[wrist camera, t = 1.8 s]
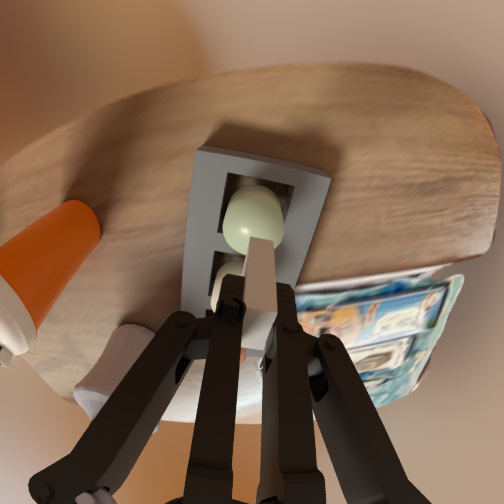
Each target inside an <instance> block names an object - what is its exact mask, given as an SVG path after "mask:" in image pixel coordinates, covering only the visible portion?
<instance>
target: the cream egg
mask: <svg viewBox="0 0 504 504" xmlns="http://www.w3.org/2000/svg"><path fill="white" fill-rule="evenodd" d="M244 262H245V261H231V262H228V263H226V264H224V265H223V266H221V267H220V269H219V270H218V272H217V275H216V279H215V284H214V288H213V293H212V297H211V308H212V310H213V312H215V310H216V303H217V301H218V298H219V293H220V288H221V283H222V278H223V277H224V276H225V275H226V274H227V273H228V274H233V275H238V276H242V270H243V266H244Z"/></svg>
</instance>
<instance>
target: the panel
mask: <svg viewBox="0 0 504 504" xmlns="http://www.w3.org/2000/svg"><path fill="white" fill-rule="evenodd" d="M229 173H234V174H240V175H245V176H250V177H255V178H260V179H265V180H269V181H274V182H279V183H283V184H288V185H289V188H288V191H287V195H286V199H285V203H284V206H283V210H282V215H283V220H284V226H285V231H284V236H283V239H282V241H281V242H280V244H279V245H278V246H277V247H276V248H275V249H274V259H275V275H276V282H280V283H285V284H290V286H291V287H292V289H293V290H294V288H295V285H296V282H297V279H298V277H299V274H300V271H301V268H302V266H303V263H304V260H305V257H306V254H307V252H308V249H309V246H310V243H311V240H312V237H313V234H314V231H315V228H316V225H317V222H318V219H319V216H320V213H321V210H322V207H323V204H324V201H325V198H326V195H327V191H328V188H329V185H330V182H331V178H330V176H329V175H328V174H327V173H326V172H325V171H324V170H321V169H317V168H313V167H309V166H306V165H302V164H297V163H293V162H289V161H285V160H280V159H276V158H271V157H267V156H262V155H257V154H252V153H247V152H242V151H237V150H231V149H225V148H219V147H213V146H207V145H202V146H201V147H199V148H198V149H197V150H196V154H195V161H194V168H193V175H192V182H191V190H190V199H189V207H188V217H187V226H186V237H185V248H184V260H183V274H182V291H181V311H187V312H190V313H192V314H193V315H194V316H195V317H196V318H205V317H206V315H207V309H210V310H212V308H211V297H212V293H213V288H214V284H215V280H212V273H213V266H214V259H215V253H216V251H220V252H225V253H230V254H236V255H241V256H246V255H244V254H241V253H239V252H237V251H235V250H234V249H233V248H232V247H231V246H230V245H229V244H228V243H227V241H226V239H225V237H224V234H223V222H224V220H221V216H222V210H223V204H224V199H225V193H226V187H227V182H228V176H229ZM265 352H266V345H265V347H264V350H257V349H250V348H246V355H248V356H255V357H264V354H265Z"/></svg>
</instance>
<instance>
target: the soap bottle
mask: <svg viewBox="0 0 504 504" xmlns="http://www.w3.org/2000/svg"><path fill="white" fill-rule="evenodd" d="M154 336H155V333H154V332H153V331H151V330H149V329H147V328H145V327H143V326H139V325H136V324H125V325H122V326H120V327H118V328H116V329H115V330H114V331H113V333H112V335H111V337H110V339H109V341H108V343H107V345H106V347H105V349H104V351H103V354H102V355H101V357H100V358H99V360H98V361H97V363H96V364H95V365H94V367H93V368H92V369H91V371H90V372H89V373H88V374H87V375H86V376H85V377H84V378H83V380H82V381H81V382H79V383H78V384H77V385H76V386H75V388H74V391H73V396H74V397H75V399H76V401H77V402H78V404H79V405H80V406H82V408H83V409H84V410H85V412H86V413H87V414H88V416H89V418H90V420H91V422H92V421H93V419H94V418H95V417H96V415H97V414H98V412H99V411H100V410H101V408H102V407H103V405H104V404H105V402H106V401H107V400H108V398H109V397H110V395H111V394H112V393H113V391H114V390H115V389H116V387H117V386H118V384H119V383H120V382H121V380H122V379H123V378H124V376H125V375H126V373H127V372H128V371H129V369H130V368H131V367H132V365H133V364H134V363H135V361H136V360H137V358H138V357H139V356H140V354H141V353H142V352H143V350H144V349H145V348H146V346H147V345H148V344H149V342H150V341H151V340H152V338H153V337H154ZM91 422H90V424H91ZM90 424H89V425H90ZM159 429H160V421H159V423H158V424H157V426H156V428H155V430H154V431H153V433H154V432H156V431H158V430H159Z"/></svg>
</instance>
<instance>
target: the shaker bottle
mask: <svg viewBox="0 0 504 504" xmlns="http://www.w3.org/2000/svg"><path fill="white" fill-rule="evenodd" d="M99 239H100V225H99V222H98V219H97V217H96V215H95V213H94V212H93V211H92V209H91V208H90V207H89V206H87V205H86V204H85V203H83V202H81V201H78V200H69V201H67V202H65V203H63V204H62V205H60V206H58V207H57V208H55V209H54V210H52V211H51V212H49V213H48V214H46V215H45V216H43V217H42V218H40V219H39V220H37V221H36V222H34V223H33V224H31V225H30V226H28V227H27V228H26V229H24V230H23V231H21V232H20V233H19V234H17V235H16V236H15V237H13V238H12V239H11V240H9V241H8V242H7V243H5V244H4V245H3V246H2V247H0V365H2V366H4V367H7V366H9V365H10V364H11V362H12V361H13V359H14V357H15V356H16V355H19V354H23V353H26V352H27V351H28V349H29V347H30V346H31V344H32V342H33V341H34V340H35V338H36V336H37V330H38V328H39V327H40V325H41V323H42V322H43V320H44V318H45V317H46V315H47V314H48V312H49V310H50V309H51V307H52V306H53V304H54V303H55V301H56V300H57V298H58V297H59V295H60V294H61V292H62V291H63V289H64V288H65V286H66V285H67V284H68V282H69V281H70V279H71V278H72V277H73V275H74V274H75V272H76V271H77V270H78V268H79V267H80V266H81V264H82V263H83V262H84V260H85V259H86V258H87V256H88V255H89V254H90V253H91V251H92V250H93V249H94V247H95V246H96V245H97V244H98V242H99Z"/></svg>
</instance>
